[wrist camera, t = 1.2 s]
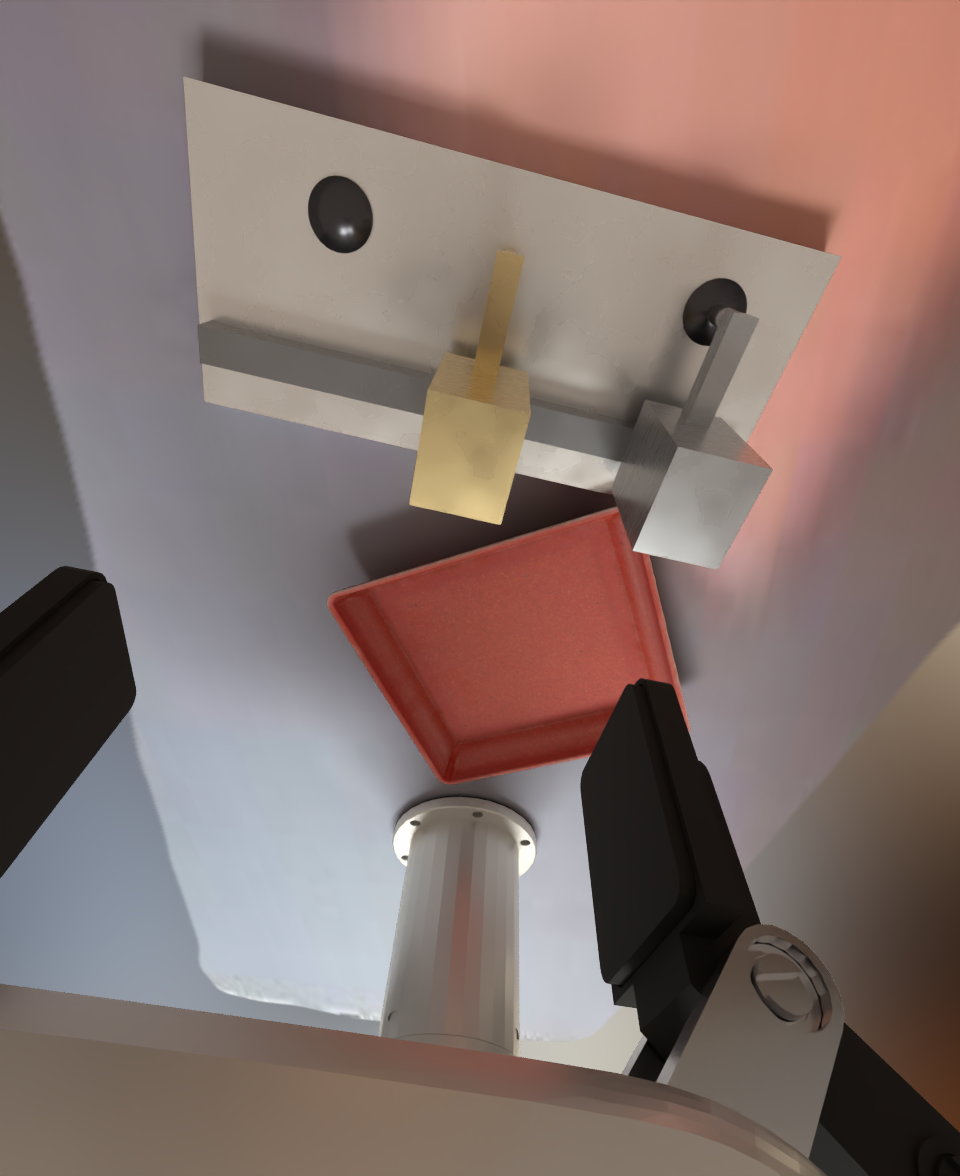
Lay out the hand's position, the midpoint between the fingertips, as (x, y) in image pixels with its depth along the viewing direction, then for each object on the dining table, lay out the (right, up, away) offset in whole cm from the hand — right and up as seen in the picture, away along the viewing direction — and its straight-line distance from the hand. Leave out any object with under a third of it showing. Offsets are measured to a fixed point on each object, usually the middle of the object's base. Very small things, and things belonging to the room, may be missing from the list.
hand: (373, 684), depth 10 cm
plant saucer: (+5, -1, +27) cm, 27 cm away
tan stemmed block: (+2, +12, +14) cm, 19 cm away
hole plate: (+3, +14, +16) cm, 21 cm away
